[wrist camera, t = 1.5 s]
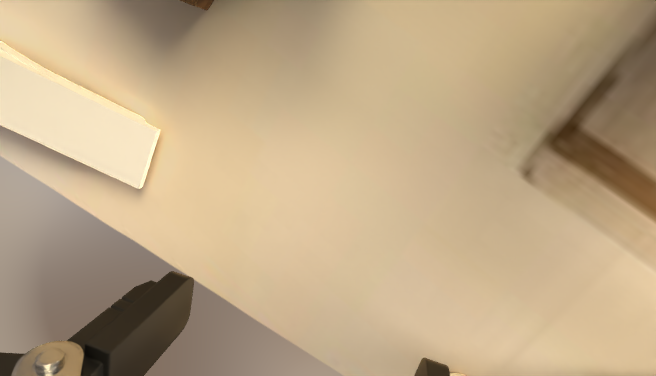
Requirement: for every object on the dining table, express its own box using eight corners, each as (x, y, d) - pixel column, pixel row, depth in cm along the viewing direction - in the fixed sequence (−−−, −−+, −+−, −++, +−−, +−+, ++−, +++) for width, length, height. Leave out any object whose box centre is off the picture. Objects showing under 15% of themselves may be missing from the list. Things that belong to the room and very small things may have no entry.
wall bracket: (184, 121, 48) (-16, 23, 46) (162, 118, 41) (-79, 1, 38) (156, 186, 49) (-43, 94, 47) (129, 194, 42) (-108, 85, 39)
